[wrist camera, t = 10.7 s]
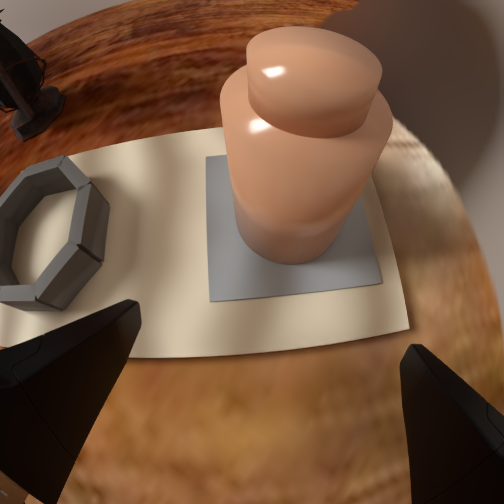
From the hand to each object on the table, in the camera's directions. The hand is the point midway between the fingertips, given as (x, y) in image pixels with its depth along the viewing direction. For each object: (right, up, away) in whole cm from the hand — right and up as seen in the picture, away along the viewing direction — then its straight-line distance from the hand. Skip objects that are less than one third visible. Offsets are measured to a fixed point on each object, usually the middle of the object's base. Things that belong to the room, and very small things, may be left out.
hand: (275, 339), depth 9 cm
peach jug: (+2, +6, +10) cm, 12 cm away
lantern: (-26, +19, +17) cm, 37 cm away
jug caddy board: (-7, +4, +11) cm, 13 cm away
